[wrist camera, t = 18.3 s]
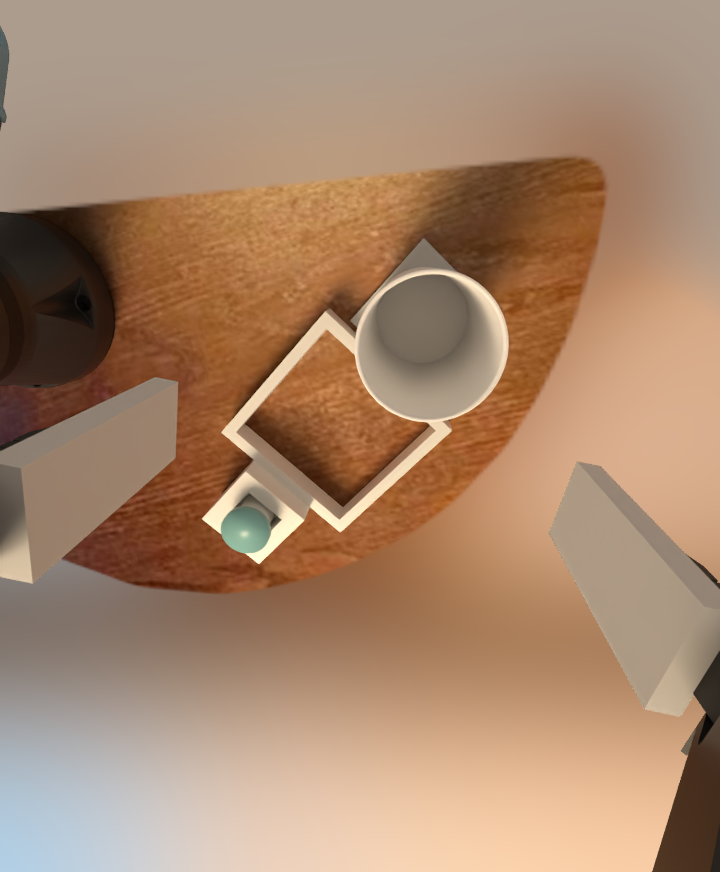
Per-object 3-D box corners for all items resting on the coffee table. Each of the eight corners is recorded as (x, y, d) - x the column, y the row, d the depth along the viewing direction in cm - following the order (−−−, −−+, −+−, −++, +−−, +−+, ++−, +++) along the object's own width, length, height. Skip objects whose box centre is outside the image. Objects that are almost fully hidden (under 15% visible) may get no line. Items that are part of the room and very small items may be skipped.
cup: (406, 382, 42) (405, 448, 27) (355, 304, 40) (324, 327, 25) (488, 331, 39) (537, 372, 24) (438, 246, 37) (459, 233, 22)
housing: (191, 469, 47) (167, 492, 43) (329, 308, 40) (320, 314, 36) (301, 558, 50) (290, 588, 45) (449, 421, 43) (454, 440, 38)
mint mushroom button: (230, 505, 46) (211, 531, 41) (256, 477, 44) (240, 501, 40) (264, 533, 46) (249, 561, 42) (291, 506, 45) (278, 532, 41)
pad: (350, 320, 41) (350, 320, 40) (423, 238, 38) (423, 237, 37) (423, 388, 42) (423, 390, 42) (498, 315, 39) (499, 315, 39)
